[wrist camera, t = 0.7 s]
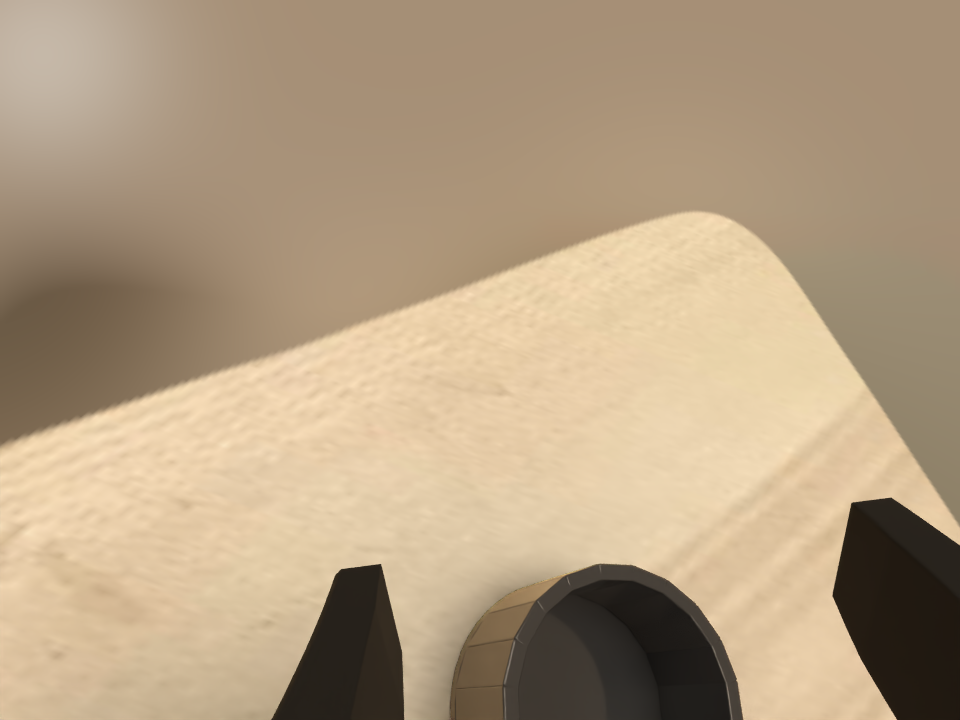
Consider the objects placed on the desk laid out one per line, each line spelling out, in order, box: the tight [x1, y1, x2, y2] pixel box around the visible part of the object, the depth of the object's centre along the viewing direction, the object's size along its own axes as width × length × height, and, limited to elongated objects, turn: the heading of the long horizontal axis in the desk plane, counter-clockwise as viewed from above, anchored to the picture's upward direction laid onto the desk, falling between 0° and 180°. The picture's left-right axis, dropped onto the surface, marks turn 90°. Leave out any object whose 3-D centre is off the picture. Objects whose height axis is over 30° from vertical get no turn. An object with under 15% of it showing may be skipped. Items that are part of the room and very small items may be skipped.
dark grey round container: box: [450, 564, 743, 720], centre depth 24 cm, size 8×8×4 cm
